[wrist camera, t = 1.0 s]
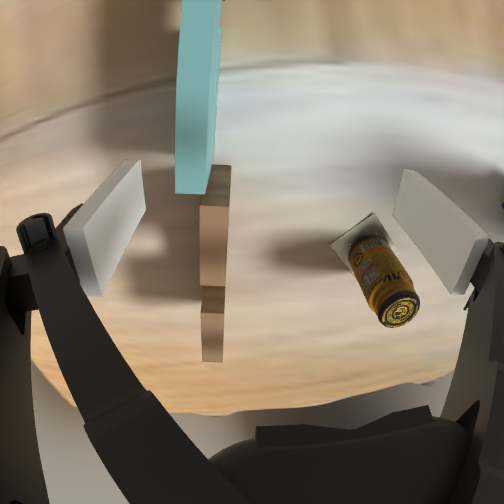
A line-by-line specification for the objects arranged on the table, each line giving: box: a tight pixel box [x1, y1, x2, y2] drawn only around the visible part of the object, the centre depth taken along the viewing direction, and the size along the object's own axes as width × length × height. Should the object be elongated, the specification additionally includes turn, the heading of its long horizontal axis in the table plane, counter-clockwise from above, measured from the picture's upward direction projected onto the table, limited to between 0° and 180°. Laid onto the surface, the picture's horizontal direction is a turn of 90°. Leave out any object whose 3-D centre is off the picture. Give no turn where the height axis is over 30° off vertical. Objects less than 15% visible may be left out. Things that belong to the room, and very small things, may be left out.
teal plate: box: [175, 0, 225, 194], centre depth 24 cm, size 20×2×11 cm, turn 175°
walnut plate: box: [199, 165, 231, 363], centre depth 36 cm, size 20×2×11 cm, turn 175°
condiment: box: [329, 214, 420, 328], centre depth 37 cm, size 7×8×12 cm
